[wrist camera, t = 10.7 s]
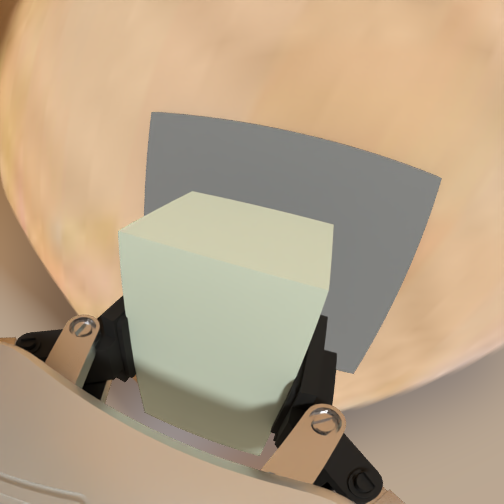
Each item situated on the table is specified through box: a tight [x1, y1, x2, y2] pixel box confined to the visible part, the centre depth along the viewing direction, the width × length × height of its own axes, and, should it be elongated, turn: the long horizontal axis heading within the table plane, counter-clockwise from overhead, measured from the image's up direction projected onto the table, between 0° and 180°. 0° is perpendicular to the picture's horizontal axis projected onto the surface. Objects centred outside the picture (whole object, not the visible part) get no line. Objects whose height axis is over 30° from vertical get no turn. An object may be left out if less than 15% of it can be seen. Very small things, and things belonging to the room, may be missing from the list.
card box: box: [118, 191, 334, 456], centre depth 11 cm, size 9×6×4 cm, turn 171°
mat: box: [144, 112, 442, 374], centre depth 17 cm, size 16×14×1 cm
